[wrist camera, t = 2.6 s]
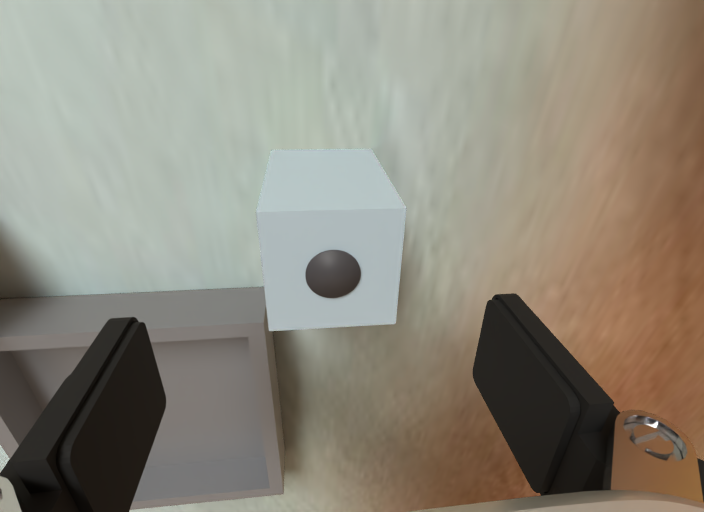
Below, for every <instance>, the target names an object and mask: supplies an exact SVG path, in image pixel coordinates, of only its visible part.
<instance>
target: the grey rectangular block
mask: <svg viewBox="0 0 704 512" xmlns="http://www.w3.org/2000/svg"><path fill="white" fill-rule="evenodd" d="M256 217H257V226H258V235H259V245H260V254H261V263H262V272H263V281H264V290H265V299H266V308H267V317H268V327H269V331H283V330H300V329H317V328H335V327H352V326H369V325H386V324H396V315H397V304H398V294H399V283H400V272H401V262H402V251H403V240H404V229H405V219H406V206H405V205H404V203H403V201H402V200H401V198H400V196H399V195H398V193H397V191H396V190H395V188H394V186H393V185H392V183H391V181H390V179H389V178H388V176H387V174H386V173H385V171H384V169H383V168H382V166H381V164H380V163H379V161H378V159H377V158H376V156H375V154H374V152H373V151H372V149H299V150H271V153H270V157H269V161H268V165H267V169H266V173H265V178H264V182H263V186H262V190H261V194H260V198H259V202H258V206H257V210H256Z"/></svg>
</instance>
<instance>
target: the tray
mask: <svg viewBox="0 0 704 512" xmlns="http://www.w3.org/2000/svg"><path fill="white" fill-rule="evenodd" d="M123 317H136V318H137V320H138V322H144V323H145V325H146V328H147V331H148V335H149V338H150V342H151V345H152V349H153V352H154V356H155V360H156V363H157V367H158V370H159V374H160V377H161V381H162V384H163V388H164V391H165V395H166V408H165V412H164V415H163V417H162V420H161V423H160V426H159V429H158V431H157V434H156V437H155V440H154V443H153V446H152V448H151V451H150V454H149V457H148V460H147V462H146V465H145V468H144V471H143V474H142V476H141V479H140V482H139V485H138V488H137V491H136V493H135V496H134V499H133V502H132V505H131V507H130V510H132V509H142V508H152V507H162V506H172V505H182V504H192V503H202V502H212V501H221V500H231V499H241V498H251V497H261V496H271V495H281V494H284V469H285V445H284V435H283V425H282V416H281V406H280V396H279V387H278V377H277V367H276V358H275V348H274V338H273V331H269V327H268V317H267V308H266V299H265V290H264V287H249V288H227V289H206V290H184V291H162V292H141V293H119V294H97V295H76V296H54V297H32V298H11V299H0V444H1V446H2V448H3V449H4V451H5V452H6V454H7V455H8V457H9V458H11V457H12V456H13V454H14V453H15V451H16V450H17V448H18V447H19V445H20V444H21V442H22V441H23V440H24V438H25V437H26V435H27V434H28V432H29V431H30V429H31V428H32V427H33V425H34V424H35V422H36V421H37V419H38V418H39V416H40V415H41V413H42V412H43V411H44V409H45V408H46V406H47V405H48V403H49V402H50V400H51V399H52V397H53V396H54V395H55V393H56V392H57V390H58V389H59V387H60V386H61V384H62V383H63V382H64V380H65V379H66V378H67V377H68V376H69V375H71V373H72V372H73V371H74V369H75V368H76V366H77V365H78V363H79V362H80V360H81V359H82V357H83V356H84V354H85V353H86V351H87V350H88V349H89V347H90V346H91V344H92V343H93V341H94V340H95V338H96V337H97V335H98V334H99V332H100V331H101V329H102V328H103V327H104V325H105V324H106V322H107V321H108V320H109V319H111V318H123Z"/></svg>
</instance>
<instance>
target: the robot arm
mask: <svg viewBox="0 0 704 512" xmlns="http://www.w3.org/2000/svg"><path fill="white" fill-rule="evenodd" d="M473 378H474V382H475V384H476V386H477V388H478V389H479V391H480V393H481V395H482V397H483V399H484V401H485V402H486V404H487V406H488V408H489V410H490V412H491V414H492V415H493V417H494V419H495V421H496V423H497V425H498V427H499V428H500V430H501V432H502V434H503V436H504V438H505V440H506V442H507V443H508V445H509V447H510V449H511V451H512V453H513V455H514V456H515V458H516V460H517V462H518V464H519V466H520V468H521V469H522V471H523V473H524V475H525V477H526V479H527V481H528V482H529V484H530V486H531V488H532V489H533V490H534V491H535V492H536V493H540V494H541V496H534V497H525V498H516V499H508V500H499V501H491V502H483V503H475V504H466V505H458V506H450V507H442V508H433V509H425V510H417V511H409V512H704V461H703V460H700V459H698V458H697V454H696V451H695V448H694V446H693V444H692V443H691V441H690V440H689V439H688V437H687V436H686V435H685V434H684V433H683V432H682V431H681V430H679V429H678V428H677V427H676V426H674V425H673V424H671V423H670V422H668V421H667V420H665V419H663V418H661V417H659V416H657V415H655V414H652V413H648V412H645V411H641V410H627V411H623V412H621V413H620V412H619V411H618V410H617V409H616V408H615V407H614V405H613V404H614V402H613V400H612V399H611V398H610V397H609V396H608V395H607V394H606V393H605V392H604V390H603V389H602V388H601V387H600V386H599V385H598V384H597V383H596V381H595V380H594V379H593V378H592V377H591V376H590V375H589V374H588V373H587V371H586V370H585V369H584V368H583V367H582V366H581V365H580V364H579V363H578V361H577V360H576V359H575V358H574V357H573V356H572V355H571V354H570V353H569V351H568V350H567V349H566V348H565V347H564V346H563V345H562V344H561V343H560V341H559V340H558V339H557V338H556V337H555V336H554V335H553V334H552V333H551V331H550V330H549V329H548V328H547V327H546V326H545V325H544V324H543V323H542V321H541V320H540V319H539V318H538V317H537V316H536V315H535V314H534V313H533V311H532V310H531V309H530V308H529V307H528V306H527V305H526V304H525V303H524V301H523V300H522V299H521V298H520V297H519V296H518V295H517V294H497V295H494V297H493V298H492V300H489V301H488V302H487V305H486V309H485V314H484V319H483V324H482V328H481V333H480V338H479V343H478V347H477V352H476V357H475V362H474V367H473ZM165 408H166V395H165V391H164V388H163V384H162V381H161V377H160V374H159V370H158V367H157V363H156V360H155V356H154V352H153V349H152V345H151V342H150V338H149V335H148V331H147V328H146V325H145V323H144V322H138V320H137V318H136V317H123V318H111V319H109V320H108V321H107V322H106V324H105V325H104V327H103V328H102V329H101V331H100V332H99V334H98V335H97V337H96V338H95V340H94V341H93V343H92V344H91V346H90V347H89V349H88V350H87V351H86V353H85V354H84V356H83V357H82V359H81V360H80V362H79V363H78V365H77V366H76V368H75V369H74V371H73V372H72V373H71V375H69V376H68V377H67V378H66V379H65V380H64V382H63V383H62V384H61V386H60V387H59V389H58V390H57V392H56V393H55V395H54V396H53V397H52V399H51V400H50V402H49V403H48V405H47V406H46V408H45V409H44V411H43V412H42V413H41V415H40V416H39V418H38V419H37V421H36V422H35V424H34V425H33V427H32V428H31V429H30V431H29V432H28V434H27V435H26V437H25V438H24V440H23V441H22V442H21V444H20V445H19V447H18V448H17V450H16V451H15V453H14V454H13V456H12V457H11V458H10V460H9V461H8V463H7V464H6V466H5V467H4V469H3V470H2V471H1V473H0V512H129V510H130V507H131V505H132V502H133V499H134V496H135V493H136V491H137V488H138V485H139V482H140V479H141V476H142V474H143V471H144V468H145V465H146V462H147V460H148V457H149V454H150V451H151V448H152V446H153V443H154V440H155V437H156V434H157V431H158V429H159V426H160V423H161V420H162V417H163V415H164V412H165Z"/></svg>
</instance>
